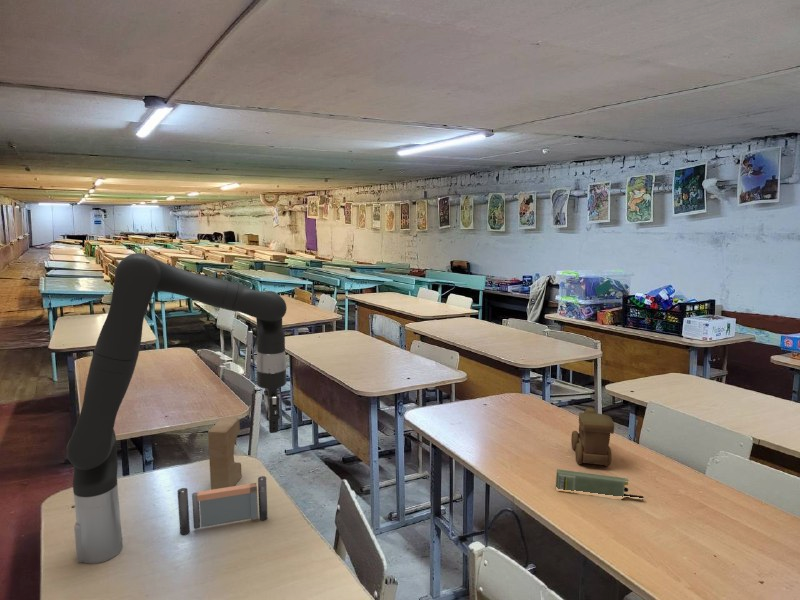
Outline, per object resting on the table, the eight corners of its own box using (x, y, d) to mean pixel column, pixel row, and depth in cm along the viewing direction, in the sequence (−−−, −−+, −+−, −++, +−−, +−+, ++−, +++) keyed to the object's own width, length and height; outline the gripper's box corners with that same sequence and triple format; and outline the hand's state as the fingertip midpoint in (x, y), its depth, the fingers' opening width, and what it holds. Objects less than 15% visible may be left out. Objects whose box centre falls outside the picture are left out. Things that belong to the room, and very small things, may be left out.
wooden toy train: (613, 473, 172) (617, 425, 169) (577, 469, 174) (580, 422, 171) (601, 447, 191) (605, 403, 189) (569, 444, 193) (572, 401, 191)
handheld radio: (555, 487, 163) (642, 499, 157) (555, 492, 160) (644, 505, 154) (556, 467, 162) (644, 479, 156) (557, 472, 159) (646, 484, 152)
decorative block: (225, 475, 167) (222, 416, 164) (242, 476, 167) (240, 417, 163) (209, 493, 156) (206, 430, 153) (228, 495, 156) (225, 431, 152)
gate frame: (179, 536, 136) (177, 493, 134) (180, 530, 138) (177, 488, 136) (268, 520, 143) (266, 480, 141) (267, 515, 146) (265, 475, 144)
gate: (193, 529, 137) (191, 496, 135) (193, 525, 139) (192, 492, 137) (257, 518, 142) (256, 486, 141) (257, 514, 144) (256, 482, 143)
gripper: (254, 361, 143) (255, 417, 146) (258, 376, 130) (259, 438, 132) (282, 359, 146) (283, 415, 148) (289, 374, 132) (289, 435, 135)
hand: (272, 425), depth 140 cm, fingers open, 8 cm apart
